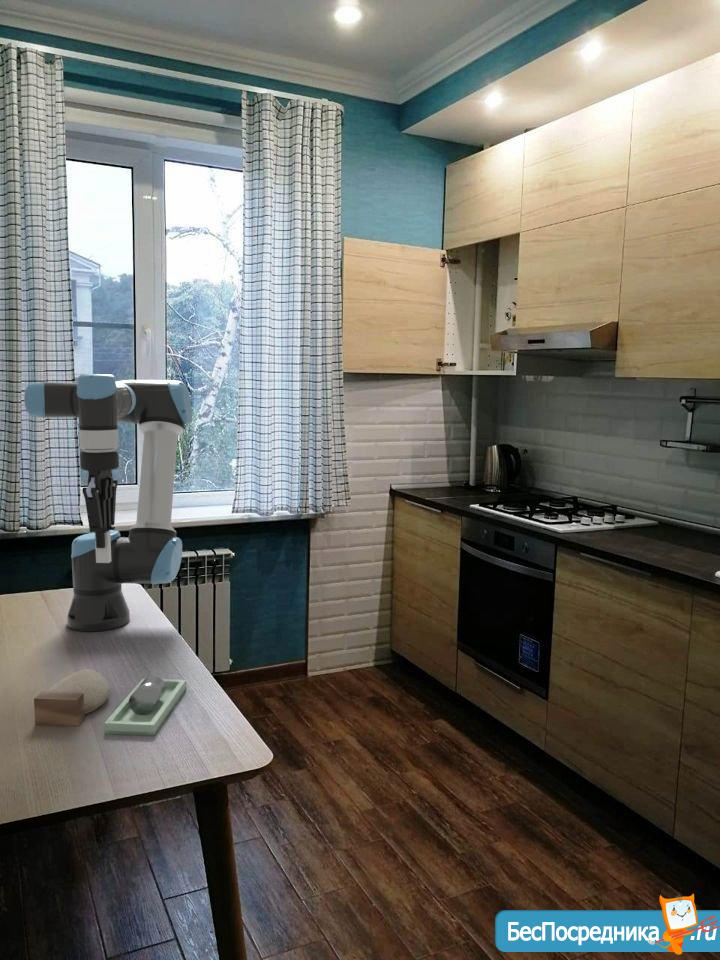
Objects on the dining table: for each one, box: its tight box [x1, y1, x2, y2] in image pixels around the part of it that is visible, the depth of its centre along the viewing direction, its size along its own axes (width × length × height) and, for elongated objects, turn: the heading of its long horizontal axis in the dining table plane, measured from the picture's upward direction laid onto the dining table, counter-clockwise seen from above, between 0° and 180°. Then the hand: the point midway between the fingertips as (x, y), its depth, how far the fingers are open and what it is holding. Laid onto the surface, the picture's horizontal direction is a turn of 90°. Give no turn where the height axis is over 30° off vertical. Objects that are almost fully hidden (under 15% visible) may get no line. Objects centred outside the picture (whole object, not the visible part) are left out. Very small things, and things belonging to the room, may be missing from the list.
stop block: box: [33, 691, 86, 727], centre depth 142 cm, size 3×8×5 cm, turn 87°
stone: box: [49, 668, 111, 715], centre depth 150 cm, size 13×10×8 cm
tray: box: [103, 678, 187, 737], centre depth 147 cm, size 20×9×2 cm, turn 176°
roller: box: [129, 675, 166, 715], centre depth 147 cm, size 5×7×5 cm
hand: (103, 561), depth 161 cm, fingers closed
